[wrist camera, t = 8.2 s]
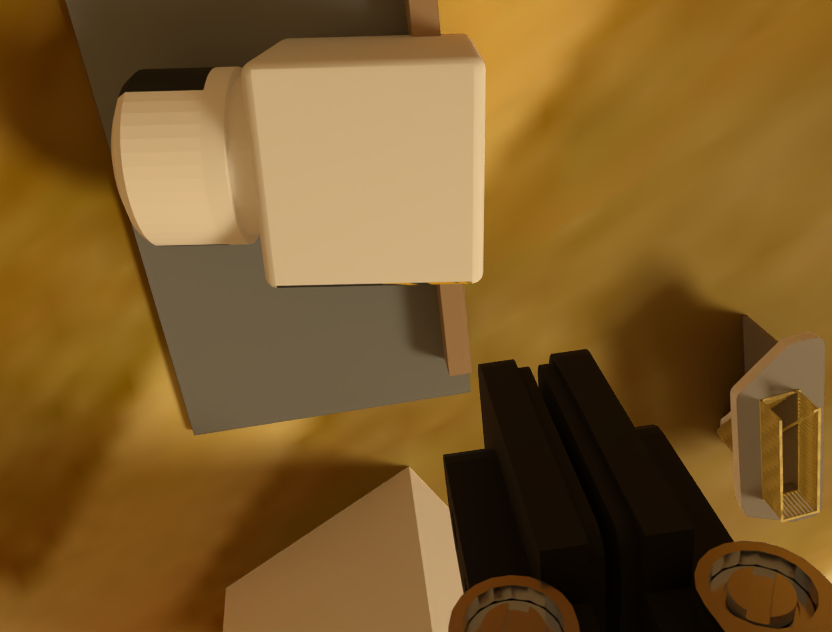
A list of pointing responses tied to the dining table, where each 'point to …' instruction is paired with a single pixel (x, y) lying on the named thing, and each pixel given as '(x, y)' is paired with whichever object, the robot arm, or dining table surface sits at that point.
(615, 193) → the dining table surface
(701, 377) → the dining table surface
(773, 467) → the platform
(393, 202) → the medicine bottle
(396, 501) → the milk
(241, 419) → the tipping mat
